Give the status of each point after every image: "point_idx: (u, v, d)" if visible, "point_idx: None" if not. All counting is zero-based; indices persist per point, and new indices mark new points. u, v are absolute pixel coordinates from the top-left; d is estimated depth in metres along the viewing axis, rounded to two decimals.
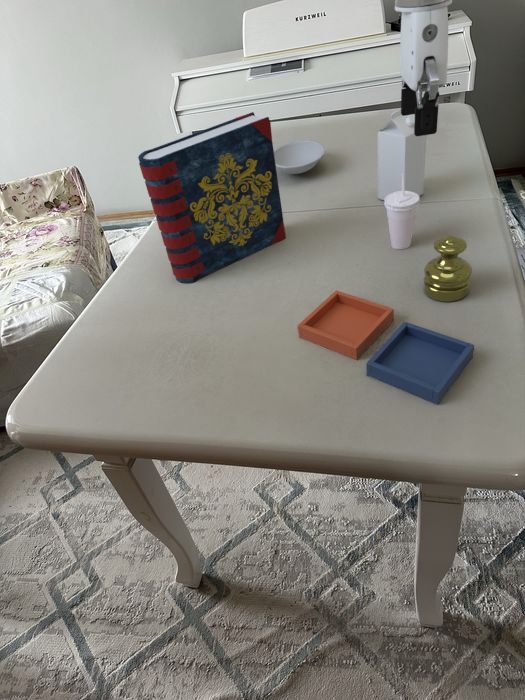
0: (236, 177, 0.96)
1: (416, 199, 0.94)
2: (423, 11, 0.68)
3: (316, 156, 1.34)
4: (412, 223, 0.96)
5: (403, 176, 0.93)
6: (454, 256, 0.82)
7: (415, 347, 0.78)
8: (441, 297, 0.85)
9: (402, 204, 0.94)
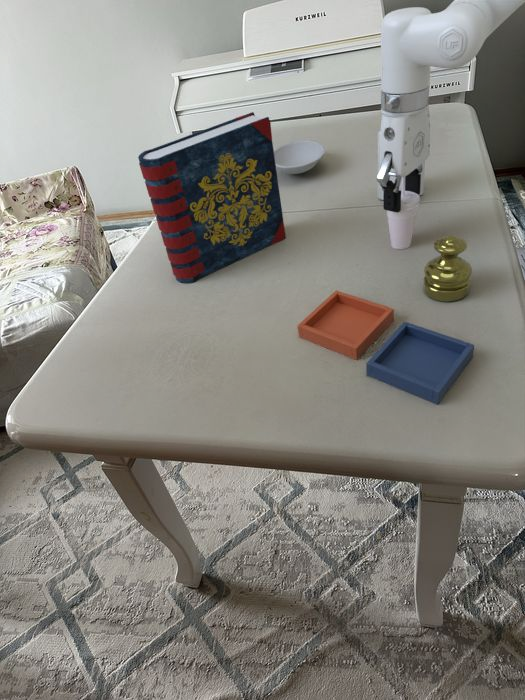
0: (236, 177, 0.96)
1: (416, 199, 0.94)
2: (387, 116, 0.83)
3: (316, 156, 1.34)
4: (412, 223, 0.96)
5: None
6: (454, 256, 0.82)
7: (415, 347, 0.78)
8: (441, 297, 0.85)
9: (402, 204, 0.94)
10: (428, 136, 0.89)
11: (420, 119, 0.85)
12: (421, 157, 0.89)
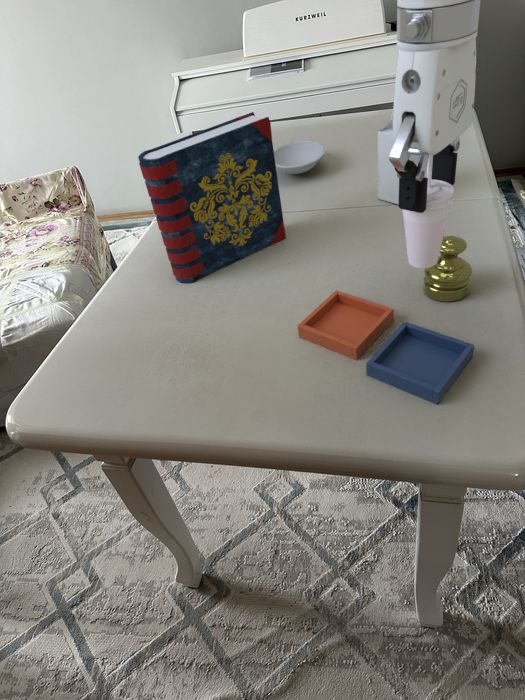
0: (236, 177, 0.96)
1: (449, 192, 0.60)
2: (407, 50, 0.49)
3: (316, 156, 1.34)
4: (442, 229, 0.63)
5: (430, 155, 0.59)
6: (454, 256, 0.82)
7: (415, 347, 0.78)
8: (441, 297, 0.85)
9: (427, 199, 0.60)
10: (472, 89, 0.55)
11: (463, 56, 0.51)
12: (461, 124, 0.55)
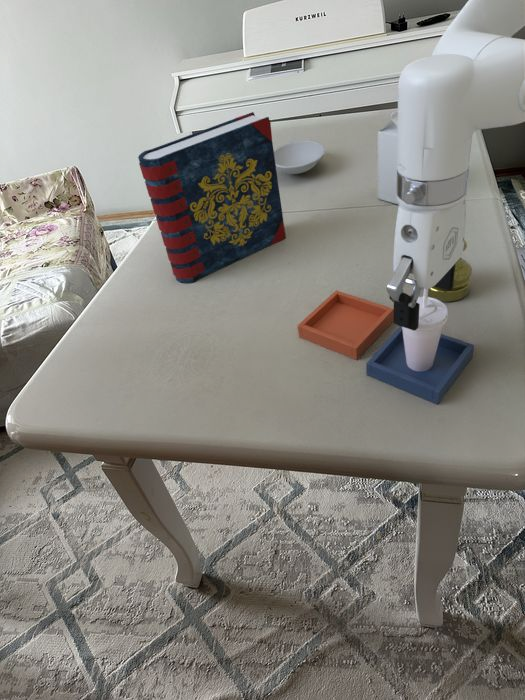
0: (236, 177, 0.96)
1: (443, 313, 0.68)
2: (406, 208, 0.57)
3: (316, 156, 1.34)
4: (436, 342, 0.71)
5: None
6: None
7: None
8: (441, 297, 0.85)
9: (423, 320, 0.68)
10: (463, 228, 0.63)
11: (454, 210, 0.58)
12: (453, 258, 0.63)
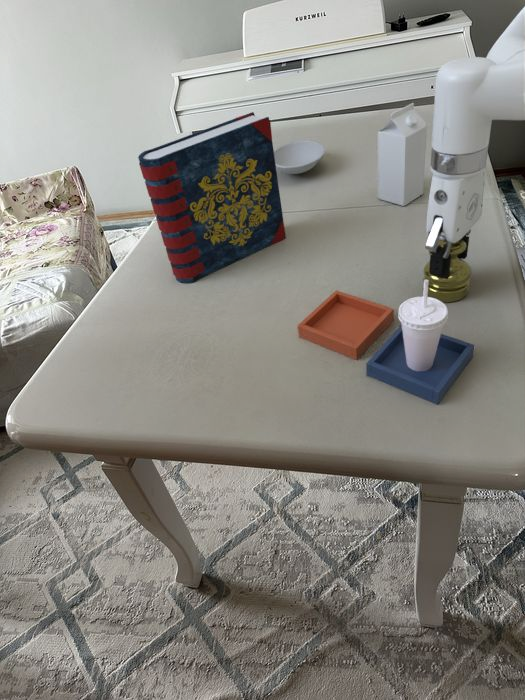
0: (236, 177, 0.96)
1: (443, 313, 0.68)
2: (439, 177, 0.73)
3: (316, 156, 1.34)
4: (436, 342, 0.71)
5: (425, 283, 0.67)
6: (453, 256, 0.82)
7: None
8: (440, 297, 0.85)
9: (423, 320, 0.68)
10: (482, 196, 0.79)
11: (476, 179, 0.74)
12: (474, 219, 0.79)
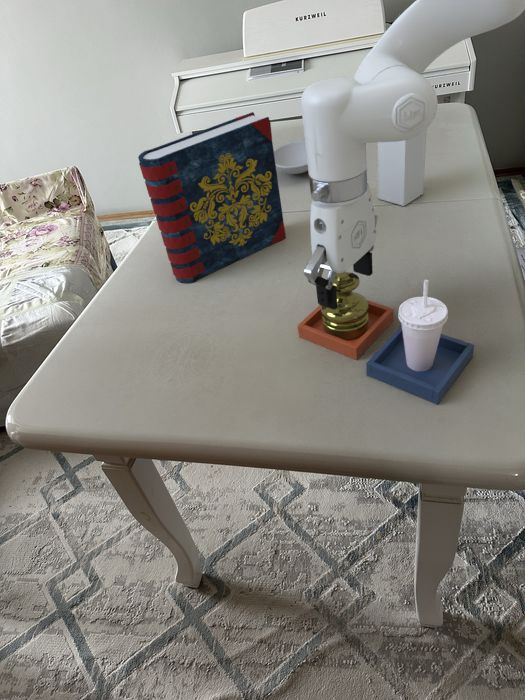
0: (236, 177, 0.96)
1: (443, 313, 0.68)
2: (316, 205, 0.68)
3: None
4: (436, 342, 0.71)
5: (425, 283, 0.67)
6: (346, 293, 0.78)
7: None
8: (337, 335, 0.81)
9: (423, 320, 0.68)
10: (372, 222, 0.74)
11: (358, 206, 0.69)
12: (365, 247, 0.74)
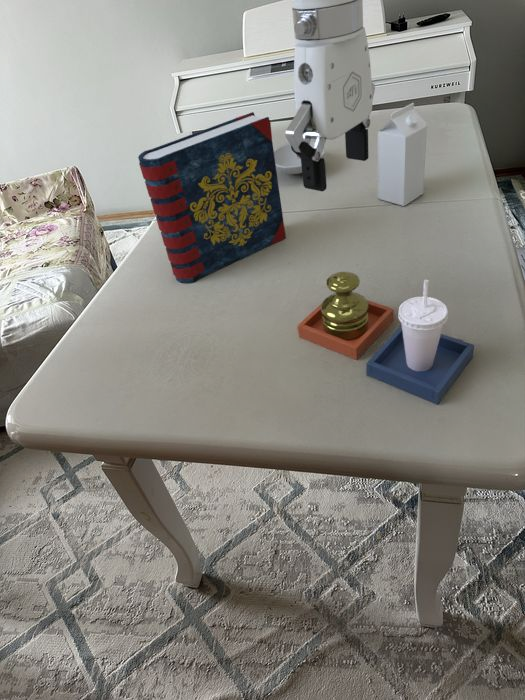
0: (236, 177, 0.96)
1: (443, 313, 0.68)
2: (301, 46, 0.56)
3: None
4: (436, 342, 0.71)
5: (425, 283, 0.67)
6: (346, 293, 0.78)
7: None
8: (337, 335, 0.81)
9: (423, 320, 0.68)
10: (368, 82, 0.62)
11: (352, 52, 0.57)
12: (359, 112, 0.62)
